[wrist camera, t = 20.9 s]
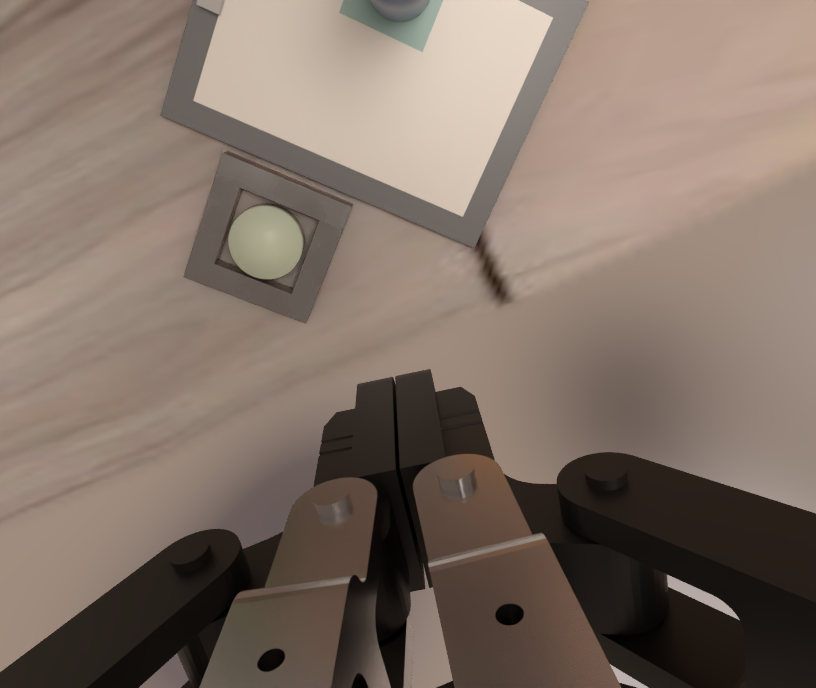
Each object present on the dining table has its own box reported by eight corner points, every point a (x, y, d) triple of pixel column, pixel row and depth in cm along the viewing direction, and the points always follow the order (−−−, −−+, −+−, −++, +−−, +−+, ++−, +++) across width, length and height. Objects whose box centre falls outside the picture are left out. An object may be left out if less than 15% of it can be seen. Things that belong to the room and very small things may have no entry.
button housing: (188, 271, 41) (183, 276, 40) (227, 151, 39) (222, 152, 38) (307, 317, 43) (305, 323, 42) (352, 203, 40) (351, 207, 39)
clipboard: (163, 115, 38) (156, 115, 37) (245, -171, 33) (239, -181, 32) (473, 245, 41) (475, 250, 40) (585, 3, 37) (592, 0, 36)
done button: (224, 257, 41) (218, 262, 40) (246, 191, 40) (241, 195, 38) (290, 283, 42) (287, 289, 40) (314, 220, 40) (312, 224, 39)
